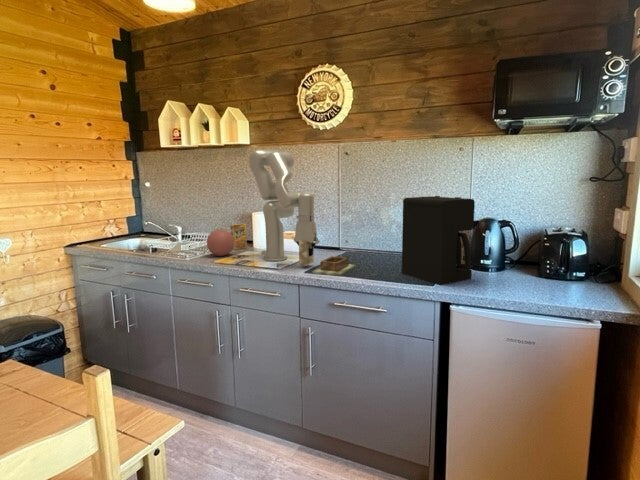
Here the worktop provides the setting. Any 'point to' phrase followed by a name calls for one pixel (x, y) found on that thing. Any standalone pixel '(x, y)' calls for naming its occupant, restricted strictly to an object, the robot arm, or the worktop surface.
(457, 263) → the coffee maker
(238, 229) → the candy box
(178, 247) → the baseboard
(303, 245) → the tan mottled block
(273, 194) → the robot arm
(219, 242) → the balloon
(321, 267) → the brown open box
